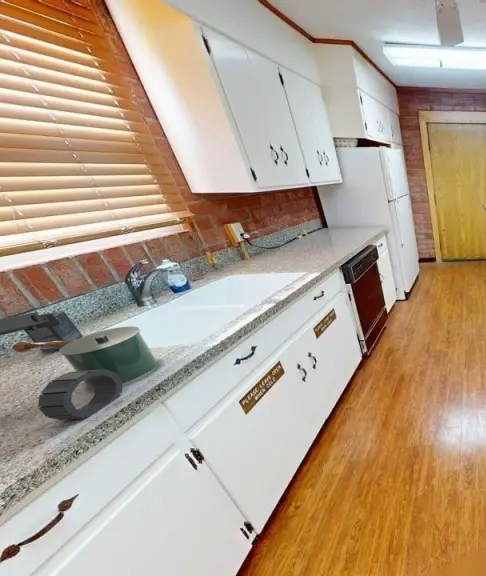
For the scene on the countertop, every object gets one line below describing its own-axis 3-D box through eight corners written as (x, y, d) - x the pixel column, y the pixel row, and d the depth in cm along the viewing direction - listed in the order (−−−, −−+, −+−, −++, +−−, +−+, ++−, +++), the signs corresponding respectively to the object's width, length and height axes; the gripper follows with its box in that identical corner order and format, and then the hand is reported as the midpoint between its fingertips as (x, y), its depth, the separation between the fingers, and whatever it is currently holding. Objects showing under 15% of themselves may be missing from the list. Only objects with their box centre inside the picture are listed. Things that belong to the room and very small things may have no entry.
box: (58, 341, 100) (38, 314, 96) (84, 336, 103) (64, 310, 99) (41, 353, 94) (18, 324, 90) (69, 347, 97) (47, 319, 92)
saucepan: (9, 398, 77) (-28, 356, 71) (73, 364, 89) (45, 327, 84) (126, 389, 80) (99, 349, 75) (173, 358, 92) (152, 322, 87)
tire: (81, 428, 69) (51, 392, 64) (57, 430, 68) (25, 394, 64) (130, 393, 79) (108, 360, 74) (110, 395, 78) (86, 361, 74)
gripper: (-271, 428, 41) (-66, 379, 60) (-5, 340, 50) (98, 322, 69) (-324, 383, 39) (-96, 348, 58) (-38, 301, 49) (77, 294, 68)
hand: (10, 334), depth 64 cm, fingers open, 13 cm apart
